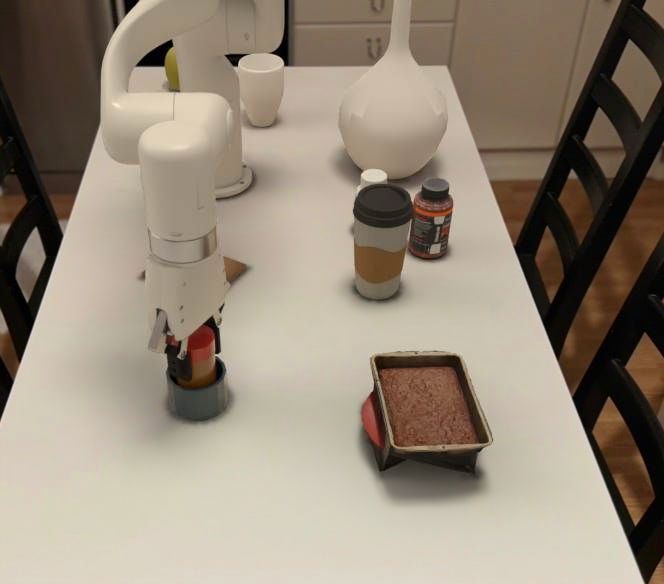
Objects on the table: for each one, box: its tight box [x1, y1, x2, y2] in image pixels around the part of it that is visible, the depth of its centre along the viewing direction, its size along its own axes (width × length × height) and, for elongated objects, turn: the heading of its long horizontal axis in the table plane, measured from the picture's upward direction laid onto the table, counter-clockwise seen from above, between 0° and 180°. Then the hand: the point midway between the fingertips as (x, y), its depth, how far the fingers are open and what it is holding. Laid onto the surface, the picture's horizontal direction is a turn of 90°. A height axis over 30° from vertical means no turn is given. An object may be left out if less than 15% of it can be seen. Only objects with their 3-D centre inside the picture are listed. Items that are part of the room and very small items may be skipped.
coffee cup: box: [352, 183, 413, 300], centre depth 129 cm, size 8×8×15 cm
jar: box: [172, 324, 217, 389], centre depth 113 cm, size 5×5×10 cm
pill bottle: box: [354, 169, 388, 200], centre depth 142 cm, size 5×5×10 cm
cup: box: [165, 355, 229, 422], centre depth 115 cm, size 7×7×5 cm
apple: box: [164, 46, 180, 92], centre depth 180 cm, size 8×8×10 cm
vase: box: [338, 0, 449, 180], centre depth 150 cm, size 18×18×30 cm
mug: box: [237, 53, 285, 128], centre depth 170 cm, size 12×8×11 cm
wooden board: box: [141, 255, 247, 284], centre depth 137 cm, size 12×10×1 cm
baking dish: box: [361, 350, 494, 475], centre depth 109 cm, size 14×18×10 cm
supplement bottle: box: [408, 177, 455, 259], centre depth 137 cm, size 6×6×11 cm
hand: (195, 362), depth 112 cm, fingers closed on jar, 5 cm apart
